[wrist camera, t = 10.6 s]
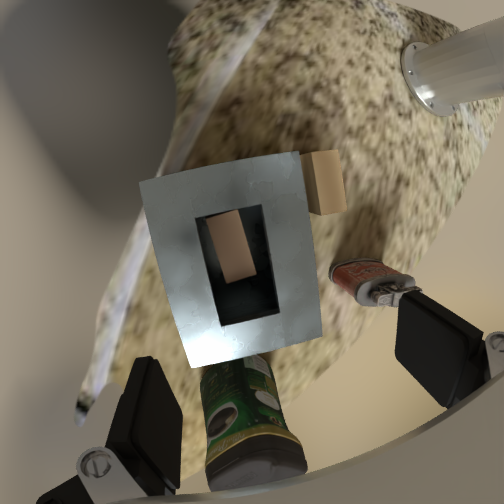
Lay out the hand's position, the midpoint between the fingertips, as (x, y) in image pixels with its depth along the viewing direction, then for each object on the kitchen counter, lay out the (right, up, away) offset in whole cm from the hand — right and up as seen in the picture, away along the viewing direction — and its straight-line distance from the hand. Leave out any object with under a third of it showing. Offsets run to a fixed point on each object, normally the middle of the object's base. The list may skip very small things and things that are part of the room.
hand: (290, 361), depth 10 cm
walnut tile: (-4, +6, +21) cm, 22 cm away
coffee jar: (-4, -13, +26) cm, 29 cm away
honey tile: (+5, +12, +21) cm, 25 cm away
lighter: (+12, +2, +25) cm, 28 cm away
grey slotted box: (-4, +5, +22) cm, 23 cm away
